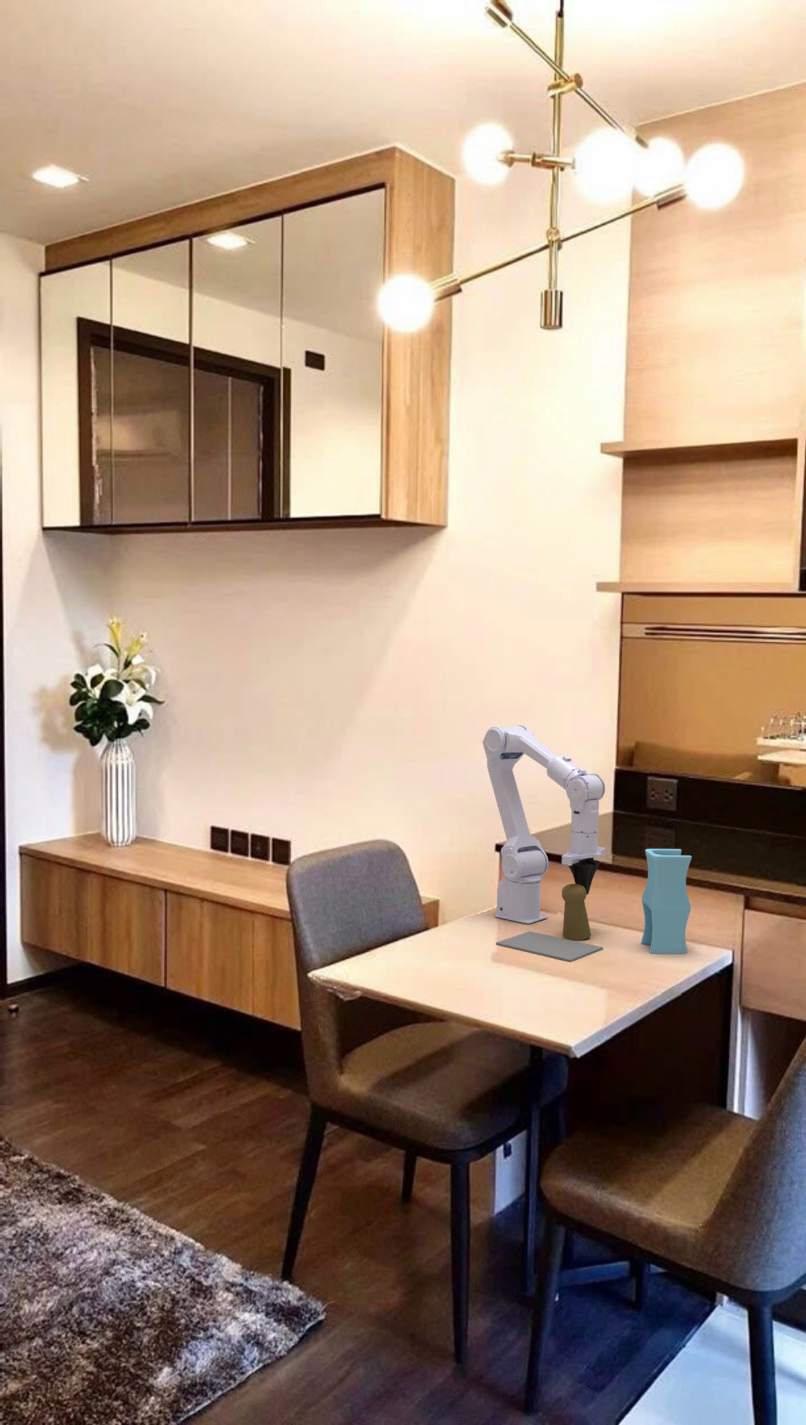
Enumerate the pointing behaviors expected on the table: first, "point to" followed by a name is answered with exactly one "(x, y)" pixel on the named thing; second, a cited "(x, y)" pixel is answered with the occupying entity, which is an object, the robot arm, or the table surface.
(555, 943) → the mat
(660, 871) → the vase
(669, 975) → the table surface
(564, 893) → the olive waisted cylinder
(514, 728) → the robot arm
